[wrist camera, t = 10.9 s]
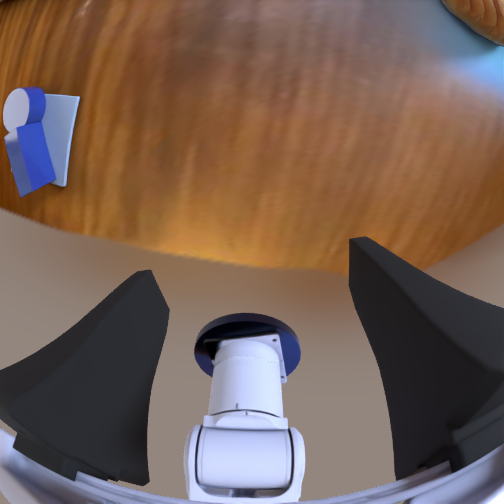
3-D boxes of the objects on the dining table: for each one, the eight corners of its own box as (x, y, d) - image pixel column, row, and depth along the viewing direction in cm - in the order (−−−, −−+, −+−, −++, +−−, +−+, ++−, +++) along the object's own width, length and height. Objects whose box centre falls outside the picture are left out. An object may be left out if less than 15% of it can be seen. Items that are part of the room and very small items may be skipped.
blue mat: (80, 96, 14) (77, 97, 14) (66, 185, 17) (63, 187, 17) (22, 92, 13) (19, 93, 13) (13, 170, 16) (11, 171, 16)
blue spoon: (64, 175, 16) (40, 187, 14) (37, 188, 17) (14, 201, 14) (43, 78, 12) (17, 79, 10) (16, 99, 13) (-9, 103, 10)
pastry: (441, 27, 11) (471, 20, 7) (417, -38, 7) (440, -53, 4) (509, 53, 10) (536, 54, 6) (490, -6, 7) (515, -11, 3)
